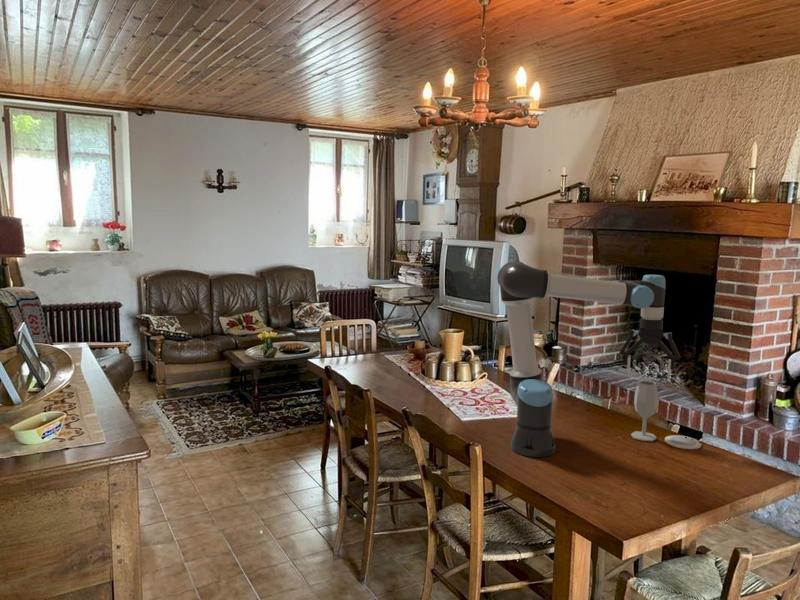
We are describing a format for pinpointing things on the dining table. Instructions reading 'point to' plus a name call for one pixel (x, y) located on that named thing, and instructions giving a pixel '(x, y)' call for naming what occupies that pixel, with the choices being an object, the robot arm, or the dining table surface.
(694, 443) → the light grey plate
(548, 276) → the robot arm
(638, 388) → the wineglass
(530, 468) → the dining table surface
